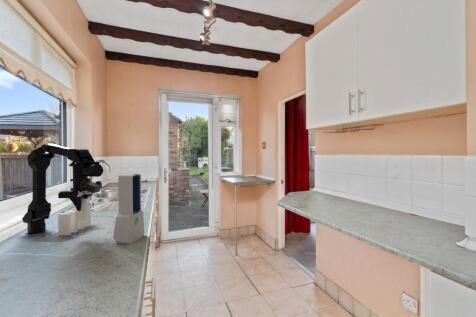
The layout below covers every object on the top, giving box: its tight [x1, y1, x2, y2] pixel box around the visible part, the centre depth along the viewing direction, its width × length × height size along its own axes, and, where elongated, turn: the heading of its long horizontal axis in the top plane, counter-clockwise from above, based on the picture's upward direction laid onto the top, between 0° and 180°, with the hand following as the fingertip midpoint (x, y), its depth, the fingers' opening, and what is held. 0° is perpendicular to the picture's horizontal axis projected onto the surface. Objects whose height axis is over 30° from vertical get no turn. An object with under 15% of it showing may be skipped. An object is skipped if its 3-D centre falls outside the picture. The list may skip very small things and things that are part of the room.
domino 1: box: [57, 212, 71, 235], centre depth 111 cm, size 5×2×10 cm, turn 85°
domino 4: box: [72, 208, 85, 229], centre depth 120 cm, size 5×2×10 cm, turn 85°
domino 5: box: [85, 206, 92, 227], centre depth 124 cm, size 5×2×10 cm, turn 85°
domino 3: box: [75, 198, 90, 221], centre depth 107 cm, size 5×2×10 cm, turn 86°
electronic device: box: [112, 173, 146, 245], centre depth 106 cm, size 12×8×30 cm, turn 168°
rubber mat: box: [36, 224, 99, 243], centre depth 114 cm, size 12×24×1 cm, turn 175°
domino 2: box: [65, 210, 78, 232], centre depth 115 cm, size 5×2×10 cm, turn 85°
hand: (80, 210), depth 107 cm, fingers closed on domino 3, 2 cm apart
